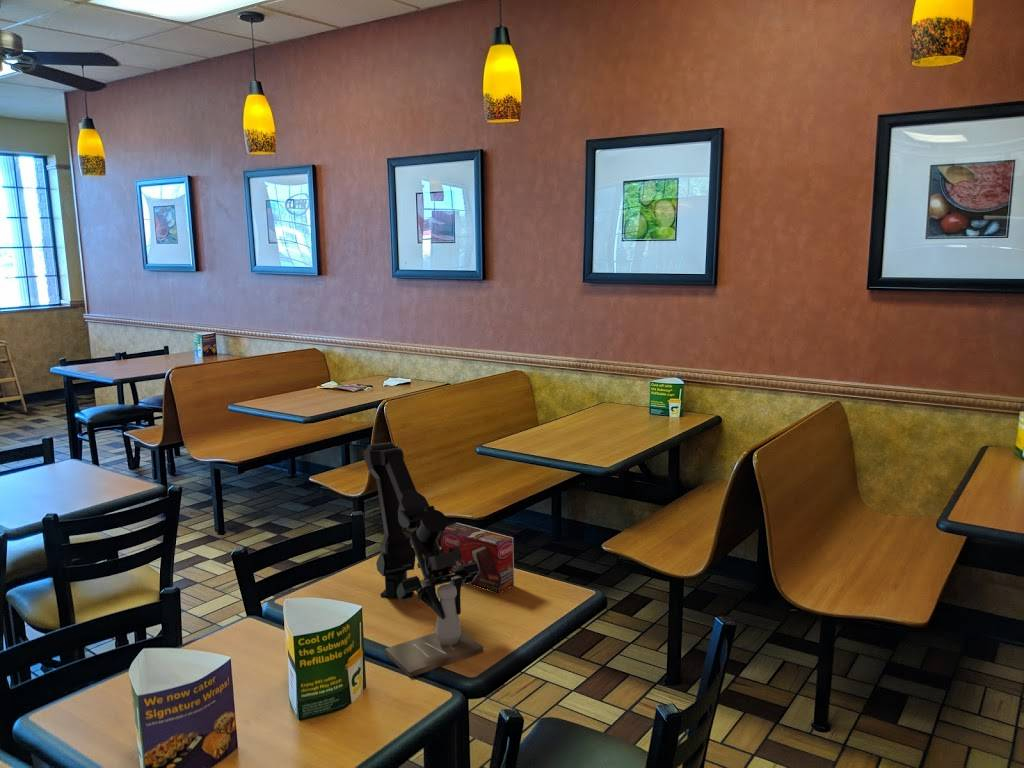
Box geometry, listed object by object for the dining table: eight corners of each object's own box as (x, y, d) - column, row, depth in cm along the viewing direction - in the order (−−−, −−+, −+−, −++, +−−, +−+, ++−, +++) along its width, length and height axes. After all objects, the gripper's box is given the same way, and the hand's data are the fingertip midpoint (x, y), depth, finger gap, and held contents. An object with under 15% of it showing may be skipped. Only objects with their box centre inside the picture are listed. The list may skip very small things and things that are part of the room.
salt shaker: (457, 649, 170) (454, 593, 168) (432, 646, 171) (429, 590, 169) (465, 636, 176) (463, 582, 174) (441, 634, 177) (438, 580, 175)
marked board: (456, 630, 181) (456, 625, 181) (483, 651, 172) (483, 646, 171) (385, 653, 172) (384, 648, 171) (409, 677, 162) (409, 671, 162)
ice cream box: (514, 586, 205) (513, 537, 203) (498, 594, 200) (497, 545, 198) (458, 568, 217) (456, 522, 215) (442, 576, 212) (440, 529, 210)
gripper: (398, 545, 168) (422, 612, 161) (475, 527, 177) (500, 590, 170) (387, 567, 176) (408, 632, 169) (460, 550, 185) (484, 611, 178)
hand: (451, 616), depth 171 cm, fingers closed on salt shaker, 3 cm apart
